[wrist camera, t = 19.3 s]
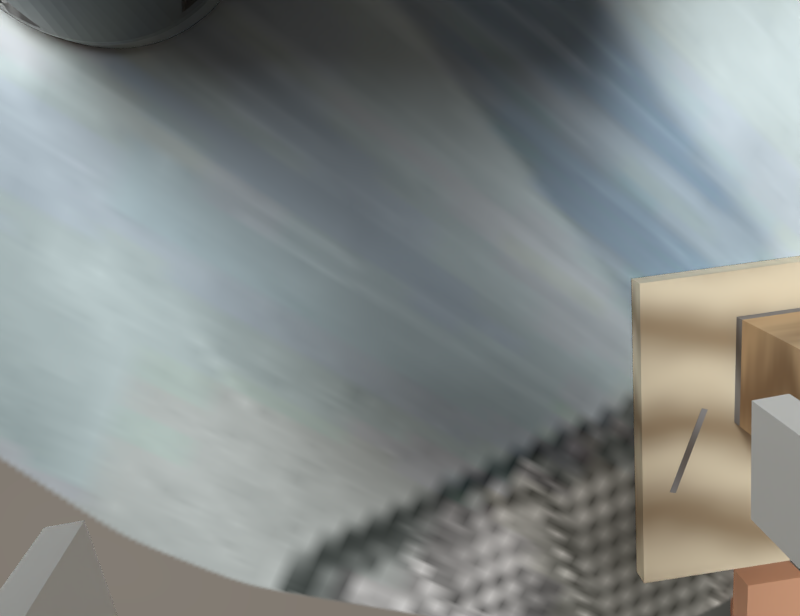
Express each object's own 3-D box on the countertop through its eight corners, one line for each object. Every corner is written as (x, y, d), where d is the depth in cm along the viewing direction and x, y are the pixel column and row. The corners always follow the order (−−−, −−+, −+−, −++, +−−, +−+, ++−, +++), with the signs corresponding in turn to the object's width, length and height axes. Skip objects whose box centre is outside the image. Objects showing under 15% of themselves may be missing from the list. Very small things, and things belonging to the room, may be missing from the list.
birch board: (631, 278, 40) (640, 283, 39) (917, 239, 41) (934, 243, 40) (636, 571, 46) (644, 583, 45) (885, 532, 47) (900, 543, 46)
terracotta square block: (731, 566, 47) (748, 585, 45) (786, 557, 47) (805, 576, 45) (730, 612, 48) (746, 633, 46) (783, 604, 48) (801, 624, 46)
